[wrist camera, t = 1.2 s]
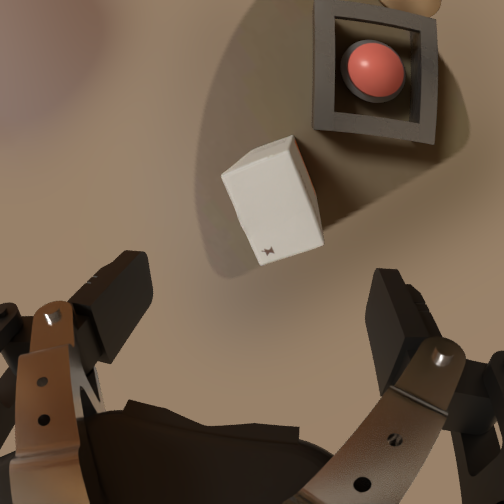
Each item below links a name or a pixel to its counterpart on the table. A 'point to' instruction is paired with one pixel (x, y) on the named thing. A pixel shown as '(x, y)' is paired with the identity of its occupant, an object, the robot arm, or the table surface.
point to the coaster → (414, 6)
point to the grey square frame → (421, 72)
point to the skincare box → (275, 201)
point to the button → (372, 71)
